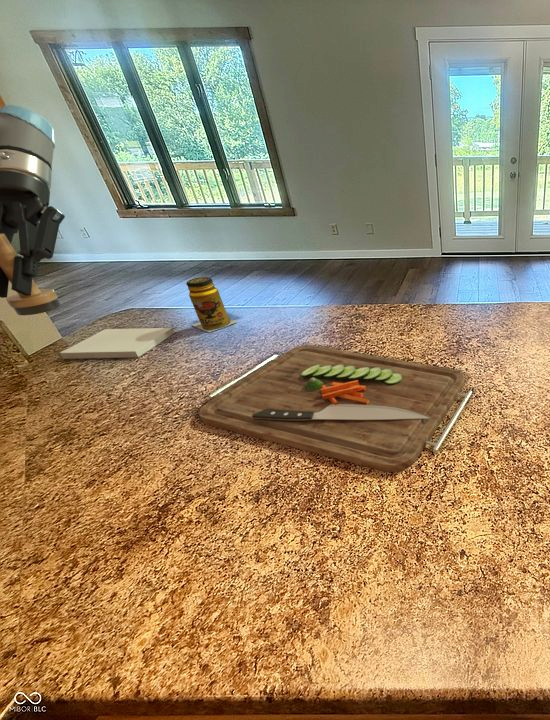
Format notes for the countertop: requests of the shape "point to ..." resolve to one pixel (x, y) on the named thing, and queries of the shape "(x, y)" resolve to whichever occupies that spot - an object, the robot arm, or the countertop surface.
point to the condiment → (208, 305)
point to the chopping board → (341, 405)
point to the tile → (118, 343)
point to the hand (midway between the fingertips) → (9, 293)
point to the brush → (39, 299)
